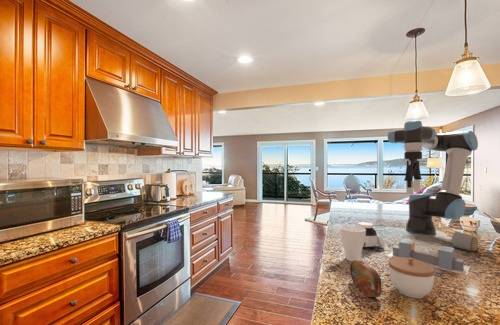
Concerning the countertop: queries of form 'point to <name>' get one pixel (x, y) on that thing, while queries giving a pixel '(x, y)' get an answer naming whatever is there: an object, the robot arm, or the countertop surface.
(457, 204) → the robot arm
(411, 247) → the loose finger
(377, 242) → the spread jar
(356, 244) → the cup
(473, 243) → the grey cylinder
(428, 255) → the rail board
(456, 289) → the countertop surface
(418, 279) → the lidded bowl
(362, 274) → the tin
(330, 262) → the countertop surface
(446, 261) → the fitted finger
